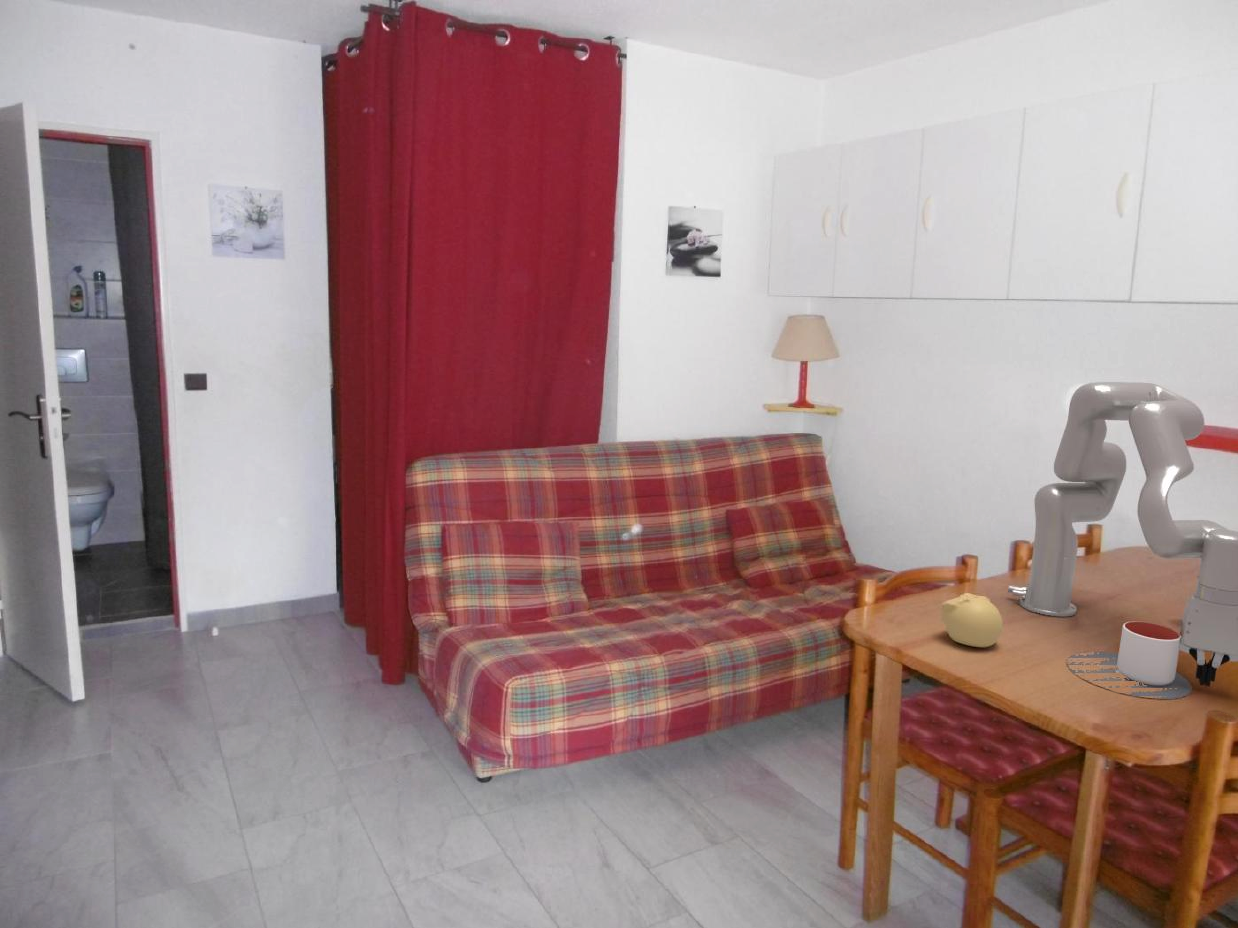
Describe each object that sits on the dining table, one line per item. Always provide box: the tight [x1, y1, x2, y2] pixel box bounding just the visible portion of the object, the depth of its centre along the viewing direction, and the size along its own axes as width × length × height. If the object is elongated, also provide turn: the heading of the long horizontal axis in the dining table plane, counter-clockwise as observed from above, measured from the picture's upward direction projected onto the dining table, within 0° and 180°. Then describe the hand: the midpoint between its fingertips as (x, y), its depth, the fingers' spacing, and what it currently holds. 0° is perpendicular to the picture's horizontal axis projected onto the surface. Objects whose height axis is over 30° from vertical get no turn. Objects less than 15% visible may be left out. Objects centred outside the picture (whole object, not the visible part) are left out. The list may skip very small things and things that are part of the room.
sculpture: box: [940, 592, 1004, 648], centre depth 186 cm, size 12×12×11 cm
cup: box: [1117, 620, 1181, 686], centre depth 170 cm, size 10×10×10 cm
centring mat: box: [1066, 651, 1192, 700], centre depth 172 cm, size 22×22×1 cm
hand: (1204, 682), depth 166 cm, fingers closed
